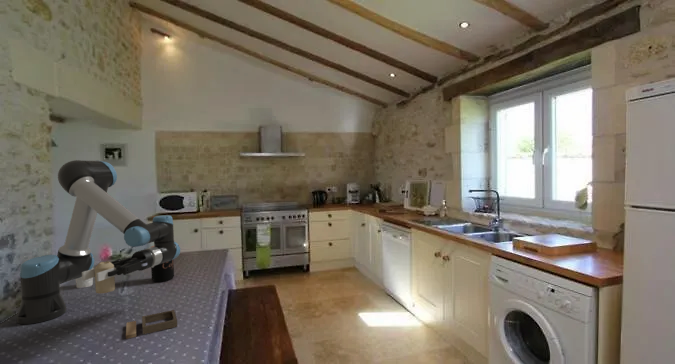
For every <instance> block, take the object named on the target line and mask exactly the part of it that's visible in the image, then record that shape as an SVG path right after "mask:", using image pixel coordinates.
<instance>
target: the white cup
mask: <svg viewBox="0 0 675 364" xmlns="http://www.w3.org/2000/svg"><path fill="white" fill-rule="evenodd" d="M92 269H94V267H93V268H92ZM74 280H75V284H76V288H77V289H83V288H89V287H92V286H93V285H94V277H93V278H90V279H87V280H82V277H80V278H77V279H74Z"/></svg>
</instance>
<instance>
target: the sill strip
mask: <svg viewBox="0 0 675 364" xmlns="http://www.w3.org/2000/svg"><path fill="white" fill-rule="evenodd" d="M125 327H126V329H125V339H126V340H128V339H132V338H133V339H134V338H136V337H137V321H136V320H133V321H128V322H126V325H125Z"/></svg>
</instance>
